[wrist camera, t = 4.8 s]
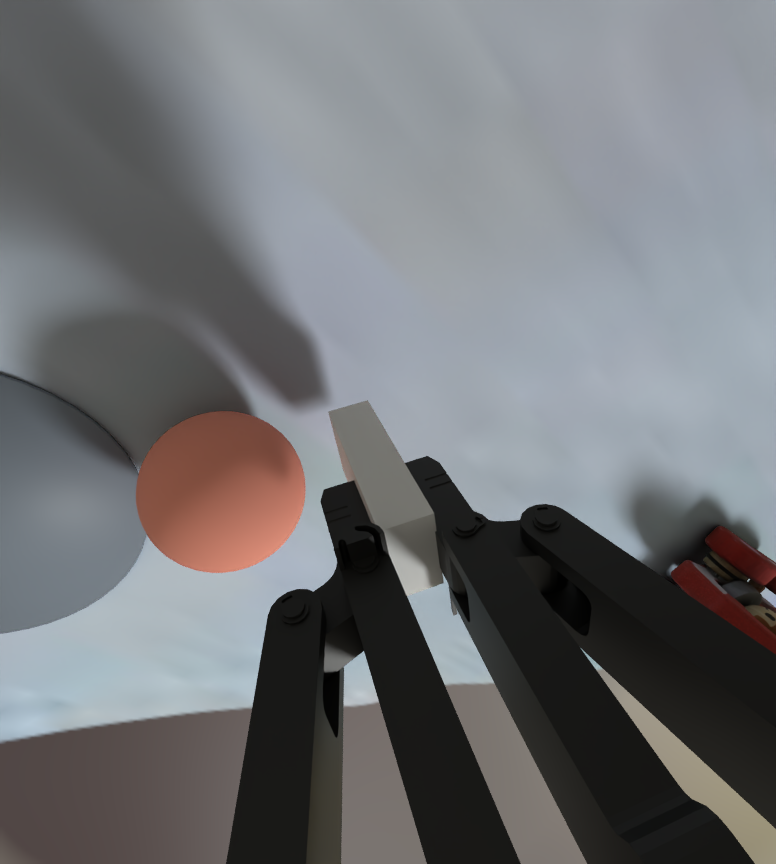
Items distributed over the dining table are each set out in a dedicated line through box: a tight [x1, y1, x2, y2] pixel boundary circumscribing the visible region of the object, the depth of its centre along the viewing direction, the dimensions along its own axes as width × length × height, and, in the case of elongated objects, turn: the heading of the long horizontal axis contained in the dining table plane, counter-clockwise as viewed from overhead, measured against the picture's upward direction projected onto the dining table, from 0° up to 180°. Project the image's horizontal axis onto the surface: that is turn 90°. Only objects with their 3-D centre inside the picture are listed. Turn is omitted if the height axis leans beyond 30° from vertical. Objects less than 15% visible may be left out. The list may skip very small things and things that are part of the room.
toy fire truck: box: [671, 526, 776, 654], centre depth 31 cm, size 7×12×10 cm, turn 54°
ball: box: [136, 411, 305, 573], centre depth 17 cm, size 6×6×6 cm
